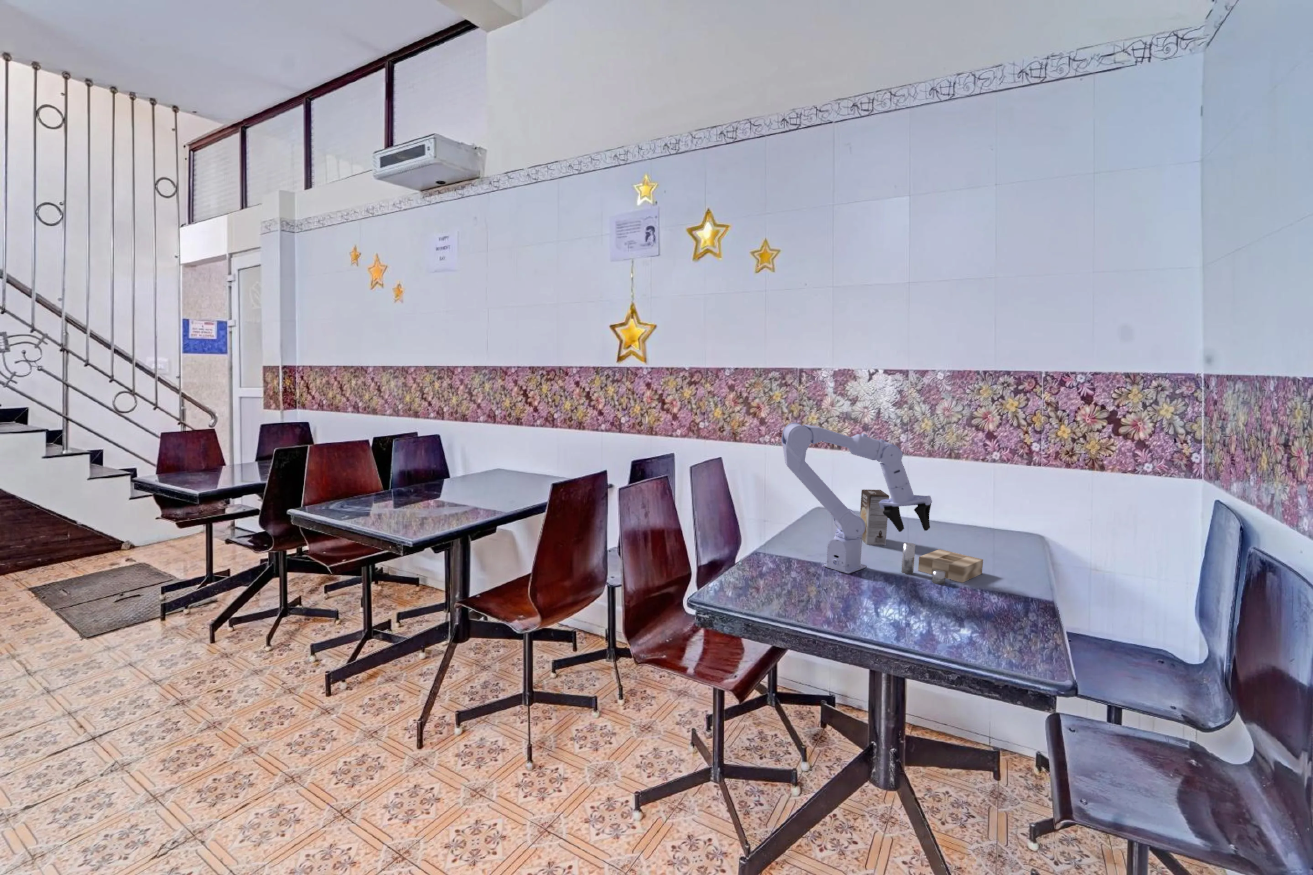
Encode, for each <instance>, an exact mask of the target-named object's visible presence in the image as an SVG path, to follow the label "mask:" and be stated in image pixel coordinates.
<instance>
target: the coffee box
mask: <svg viewBox="0 0 1313 875" xmlns="http://www.w3.org/2000/svg"><path fill="white" fill-rule="evenodd" d="M860 497H861V498H860V510H859V511H860V512H859V517H861V518H862V519H863V520H864V522H865V531H864V533H863V534H862V542H864V544H866V545H868V546H869V545H871V546H872V545H874V546H875V545H876V546H886V544H887V533H888V532H887V531H888V519H889V518H888V517H887V516H885V515H884V514H883V511H884V508H883V509H881V508H880V505H879V502H880V501H881V500H885V499H890V495H889V494H887V493H886V492H884V491H883V490H881V489H861V496H860Z"/></svg>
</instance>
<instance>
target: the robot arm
mask: <svg viewBox="0 0 1313 875" xmlns="http://www.w3.org/2000/svg"><path fill="white" fill-rule="evenodd" d="M780 442H781V444H782V445H781V446H782V450H783V457H784V463H785V465H786V467H788V469H789V471H791V472H792V473H793V475H794V476H795V477H796V478H797V479H798V480H799V482H800V483H802V485H804V487H805V488H806V489H807V490H808V491H809V492H810V494H812V496H813V497H814V498H815V499H816V500H817V501H818V502H819V503H820V504H821V505H822V507H823V508H824V509H825V510H826V511H827V512H828V513H829V514H830V515H831V517H832V518H833V522H834V524H835V526H836V527H837V528H836V530H835V533H834V537H833V538H832V539H831V540H830V541H829V542H828V544H827V546H826V547H827V549H826V551H827V552H826V553H827V554H826V563H824V564H823V567H824V568H825V567H826V568H828V569H832V570H835V571H837V572H841V573H845V574H852V573H854V572H857V571H860V570H863V569H865V568H867V567H868V565H867V564H864V563H862V549H863V548H862V546H863V545H862V544H863V540H862V534H863V533H864V531H865V522H864V520H863V519H862V518H861V517H860V515H857V514H856V513H855V511H854V510H852V509H850V508H848V506H846V505H845V503H844V502H842V500H841V499H840V498H839V497H838V496H837V495H836V494H835V493H834V492H833V490H831V489H830V487H829V486H828V485H827V484H826V483H825V482H824V480H822V479H821V477H820V476H819V475H818V474H817V473H816V472H815V471H814V469H813V468H811V466H810V465H809V464H808V463H807V462H806V455H807V451H808V449H809V447H810V445H811V444H812V445H815V444H818V443H821V442H824V443H826V444H827V443H829V444H831V445H835V446H839V447H843V448H847V449H848V451H849V453H850V454H851V455H853V456H857V457H861V458H865V459H868V460H872V461H876V462H878V463H879V464H880V467H881V471H882V474H883V478H884V481H885V483H886V487H887V489H888V492H889V494H890V495H889V496H890V497H891V498H890V497H889V499H885V500H881V501H880V502H879V505H880V508H881V509H883V508H884V511H883V514H884V515H885V516H887V517H888V519H889V521H891V522H892V524H893V526H894V527H895V528H896V530H897V531H898V532H899V533H901V532H902V531H904V530H905V525H904V523H903V520H902V516H901V512H900V507H908V506H911V507H912V506H916V507H914V509H913V511H914V512H915V513H916V515H917V518H918V519H919V520H920V523H921V526H922V529H923V531H924V532H926V531H928V530H930V529H931V525H930V523H931V522H930V511H931V507H932V503H933V500H932V497H931V495H917V494H914V491H913V489H912V486H911V483H910V480H909V478H908V474H907V472H906V468H905V466H904V464H903V461H902V460H903V456H904V455H903V451H902V450H901V449H900V447H898V445H896V444H893V443H890V442H887V441H886V440H884V439H882V438H879V439H877V438H872V437H870V436H869V435H868V434H867V433H863V432H862V433H861V434H859V433H857V434H854V435H853V436H848V435H845V434H843V433H841V432H840V433H839V432H836V431H833V430H830V429H827V428H824V427H820V426H816V425H811V424H810V425H809V424H805V423H804V424H800V423H798V422H790V423H788V424H787V425H786V426H784V428H783V431H782V435H781V441H780Z"/></svg>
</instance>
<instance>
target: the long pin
mask: <svg viewBox="0 0 1313 875" xmlns="http://www.w3.org/2000/svg"><path fill="white" fill-rule="evenodd" d="M902 544H903V546H902V555H901V556H902V558H901V559H902V561H901V573H902V574H903V573H905V574H904V575H908V574H911V575H913V574H914V567H915V554H916V552H915V551H916V544H914V543H912V542H903V543H902Z"/></svg>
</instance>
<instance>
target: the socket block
mask: <svg viewBox="0 0 1313 875" xmlns="http://www.w3.org/2000/svg"><path fill="white" fill-rule="evenodd" d="M983 565H984V559H982V558H979V557H975V556H971V555H966V554H961V553H958V552H953V551H950V550H945V549H941V548H939V549H936V550H934V551H930V552H927V553H925V554H923V555H920V556H918V568H917V571H918V572H920V573H921V572H922V573H924V572H925V574H929V575H932V574H933V570H942V571H944V572H945V579H947V580H950V579H951V581H954V582H958V583H961V584H962V583H966V582H967V581H969V579H970V580H971V579H974V578H976V577H978V576H980V575H982V574H983V567H984V566H983Z"/></svg>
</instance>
